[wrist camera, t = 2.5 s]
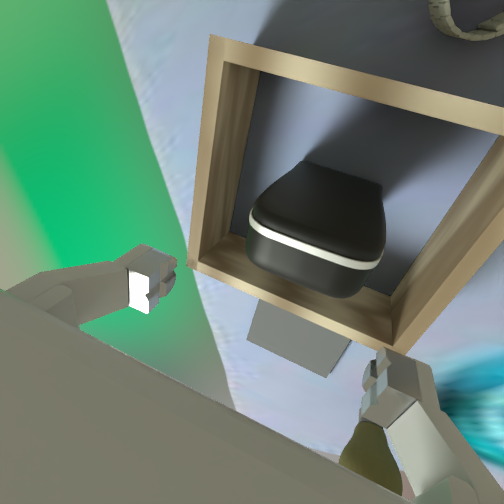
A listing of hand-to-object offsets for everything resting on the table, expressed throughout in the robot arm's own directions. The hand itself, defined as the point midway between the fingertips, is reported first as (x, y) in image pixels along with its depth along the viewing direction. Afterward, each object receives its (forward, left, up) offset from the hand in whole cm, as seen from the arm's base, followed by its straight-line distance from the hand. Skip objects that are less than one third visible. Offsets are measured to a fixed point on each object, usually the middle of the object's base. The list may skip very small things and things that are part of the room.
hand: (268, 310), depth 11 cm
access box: (0, 0, -15) cm, 15 cm away
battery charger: (0, 0, -15) cm, 15 cm away
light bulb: (-13, +22, -15) cm, 30 cm away
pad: (-2, +15, -15) cm, 21 cm away
